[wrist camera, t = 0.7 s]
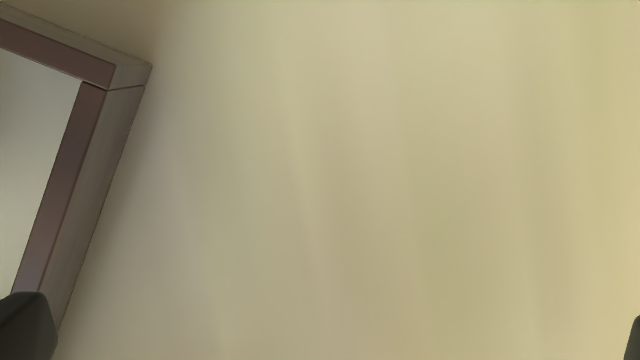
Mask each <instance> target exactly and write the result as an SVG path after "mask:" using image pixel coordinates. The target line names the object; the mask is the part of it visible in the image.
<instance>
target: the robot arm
mask: <svg viewBox="0 0 640 360" xmlns="http://www.w3.org/2000/svg"><path fill="white" fill-rule="evenodd" d="M57 342H58V330H57V327H56V323H55V320H54V317H53V314H52V311H51V307H50V304H49V301H48V298H47V297H46V295H45V294H44V293H42V292H36V291H18V292H15V293H13V294H11V295H9V296H7V297H5V298H3V299H1V300H0V360H51V358H52V356H53V354H54V351H55V349H56V346H57ZM624 360H640V315H639V316H637V317H636V319H635V320H634V322H633V325H632V329H631V333H630V336H629V340H628V344H627V347H626V351H625V354H624Z"/></svg>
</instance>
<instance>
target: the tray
mask: <svg viewBox="0 0 640 360" xmlns="http://www.w3.org/2000/svg"><path fill="white" fill-rule="evenodd" d="M0 48H2V49H5V50H7V51H10V52H12V53H15V54H17V55H20V56H22V57H25V58H27V59H30V60H32V61H35V62H37V63H40V64H42V65H45V66H47V67H50V68H52V69H55V70H57V71H60V72H62V73H65V74H67V75H70V76H72V77H75V78H77V79H80V80H82V83H81V85H80V88H79V91H78V94H77V97H76V100H75V103H74V106H73V109H72V112H71V115H70V117H69V120H68V123H67V126H66V129H65V132H64V135H63V138H62V141H61V144H60V147H59V150H58V153H57V156H56V159H55V162H54V165H53V168H52V171H51V174H50V177H49V180H48V183H47V186H46V189H45V192H44V195H43V198H42V201H41V204H40V207H39V209H38V212H37V215H36V218H35V221H34V224H33V227H32V230H31V233H30V236H29V239H28V242H27V245H26V248H25V251H24V254H23V257H22V260H21V263H20V266H19V269H18V272H17V275H16V278H15V281H14V284H13V287H12V290H11V293H10V295H11V294H13V293H15V292H18V291H36V292H42V293H44V294H45V295H46V297H47V298H48V301H49V304H50V307H51V311H52V314H53V317H54V320H55V323H56V327H57V330H58V329H59V327H60V324H61V321H62V318H63V315H64V313H65V310H66V307H67V304H68V301H69V299H70V296H71V293H72V290H73V287H74V285H75V282H76V279H77V276H78V273H79V270H80V268H81V265H82V262H83V259H84V256H85V254H86V251H87V248H88V245H89V242H90V240H91V237H92V234H93V231H94V228H95V226H96V223H97V220H98V217H99V214H100V212H101V209H102V206H103V203H104V200H105V198H106V195H107V192H108V189H109V186H110V183H111V181H112V178H113V175H114V172H115V169H116V167H117V164H118V161H119V158H120V155H121V153H122V150H123V147H124V144H125V141H126V139H127V136H128V133H129V130H130V127H131V125H132V122H133V119H134V116H135V113H136V110H137V108H138V105H139V102H140V99H141V96H142V94H143V91H144V88H145V86H144V85H145V84H146V83H147V80H148V77H149V74H150V71H151V69H152V64H150V63H148V62H145V61H143V60H140V59H138V58H135V57H133V56H130V55H128V54H126V53H123V52H121V51H118V50H116V49H113V48H111V47H108V46H106V45H103V44H101V43H99V42H96V41H94V40H91V39H89V38H86V37H84V36H81V35H79V34H76V33H74V32H72V31H69V30H67V29H64V28H62V27H59V26H57V25H54V24H52V23H49V22H47V21H45V20H42V19H40V18H37V17H35V16H32V15H30V14H27V13H25V12H22V11H20V10H18V9H15V8H13V7H10V6H8V5H5V4H3V3H0Z"/></svg>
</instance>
